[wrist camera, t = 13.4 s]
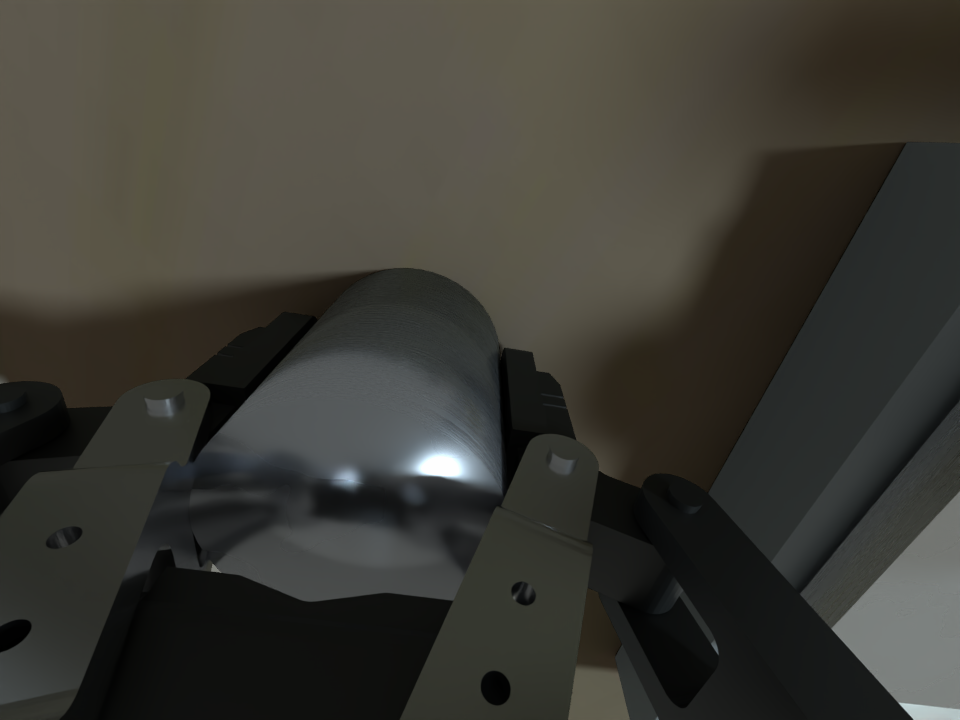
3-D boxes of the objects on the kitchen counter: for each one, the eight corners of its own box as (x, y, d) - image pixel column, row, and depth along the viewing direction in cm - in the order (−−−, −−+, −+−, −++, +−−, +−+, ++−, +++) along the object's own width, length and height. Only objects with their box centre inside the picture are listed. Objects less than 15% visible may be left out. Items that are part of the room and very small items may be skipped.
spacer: (516, 285, 11) (544, 431, 6) (482, 436, 13) (480, 643, 8) (323, 252, 11) (158, 374, 5) (322, 412, 13) (206, 612, 7)
